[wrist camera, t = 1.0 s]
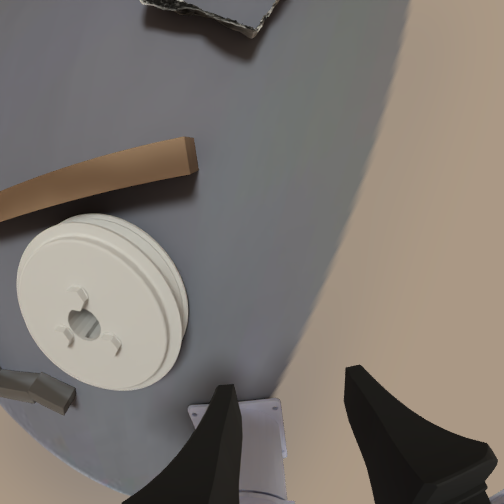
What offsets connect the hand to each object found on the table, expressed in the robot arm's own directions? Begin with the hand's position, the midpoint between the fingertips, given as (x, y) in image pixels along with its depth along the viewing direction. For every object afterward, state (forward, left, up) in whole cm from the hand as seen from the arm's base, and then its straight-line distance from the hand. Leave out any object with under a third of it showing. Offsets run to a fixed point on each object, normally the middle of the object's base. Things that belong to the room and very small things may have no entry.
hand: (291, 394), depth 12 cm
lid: (+1, +12, -10) cm, 16 cm away
